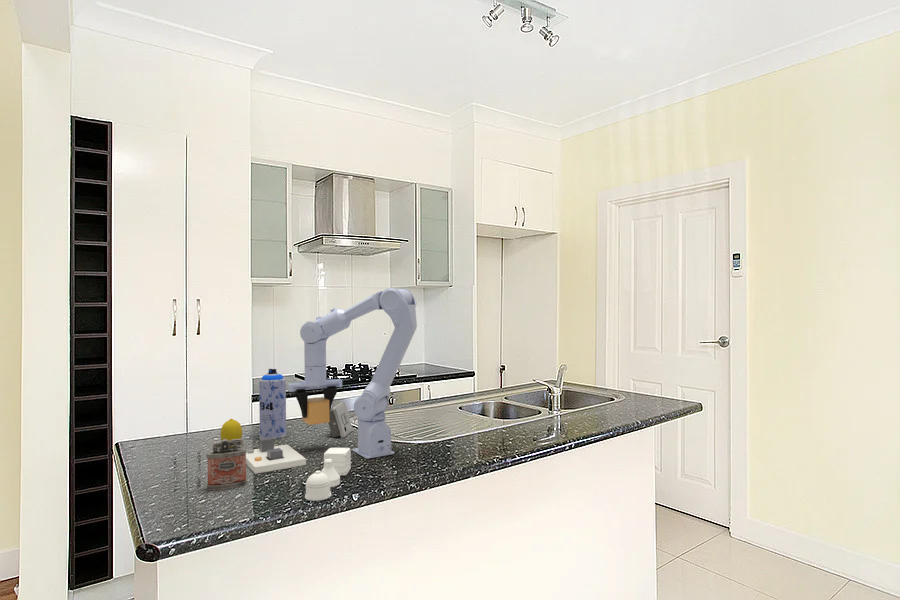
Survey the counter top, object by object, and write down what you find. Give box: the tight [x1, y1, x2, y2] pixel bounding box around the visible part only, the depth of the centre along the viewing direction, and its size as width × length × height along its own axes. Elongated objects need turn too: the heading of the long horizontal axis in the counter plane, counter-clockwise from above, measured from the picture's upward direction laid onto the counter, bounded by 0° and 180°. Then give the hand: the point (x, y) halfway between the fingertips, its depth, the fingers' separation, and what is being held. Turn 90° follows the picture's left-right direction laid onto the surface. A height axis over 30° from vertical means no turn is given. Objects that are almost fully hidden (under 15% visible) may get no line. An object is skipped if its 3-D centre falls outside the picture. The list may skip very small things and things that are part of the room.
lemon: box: [220, 418, 243, 449], centre depth 148 cm, size 6×6×8 cm
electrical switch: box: [327, 401, 353, 439], centre depth 162 cm, size 9×5×9 cm, turn 174°
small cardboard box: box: [301, 396, 330, 426], centre depth 146 cm, size 6×6×6 cm
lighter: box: [206, 438, 248, 491], centre depth 117 cm, size 8×3×10 cm, turn 114°
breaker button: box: [267, 448, 283, 461], centre depth 133 cm, size 3×3×3 cm
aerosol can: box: [258, 368, 288, 440], centre depth 161 cm, size 8×8×20 cm
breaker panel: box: [246, 437, 307, 475], centre depth 135 cm, size 16×12×4 cm
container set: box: [304, 447, 352, 502], centre depth 118 cm, size 20×5×6 cm, turn 177°
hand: (315, 415), depth 146 cm, fingers closed on small cardboard box, 6 cm apart
